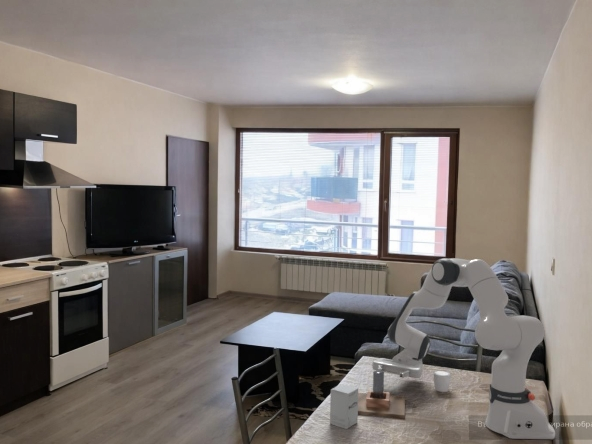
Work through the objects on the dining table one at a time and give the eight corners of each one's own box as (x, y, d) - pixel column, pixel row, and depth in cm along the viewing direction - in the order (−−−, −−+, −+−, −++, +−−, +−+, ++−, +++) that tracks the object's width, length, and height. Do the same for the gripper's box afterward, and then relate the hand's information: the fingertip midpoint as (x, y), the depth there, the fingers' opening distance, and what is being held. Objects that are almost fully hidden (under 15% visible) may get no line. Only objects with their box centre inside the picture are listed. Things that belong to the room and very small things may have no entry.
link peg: (383, 401, 206) (384, 371, 205) (383, 405, 202) (383, 374, 202) (373, 400, 207) (373, 370, 206) (372, 404, 203) (373, 373, 202)
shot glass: (451, 392, 220) (452, 375, 219) (435, 392, 220) (435, 375, 219) (447, 386, 226) (448, 370, 226) (431, 386, 227) (431, 370, 226)
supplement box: (347, 429, 184) (347, 393, 183) (329, 424, 188) (329, 388, 188) (358, 422, 190) (359, 387, 189) (340, 417, 194) (341, 383, 194)
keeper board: (404, 399, 211) (404, 389, 211) (404, 418, 194) (404, 407, 194) (353, 395, 215) (354, 385, 215) (349, 413, 198) (349, 402, 198)
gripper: (379, 352, 231) (366, 361, 220) (425, 360, 221) (414, 370, 209) (379, 367, 232) (366, 376, 220) (425, 375, 221) (414, 386, 209)
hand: (390, 373), depth 214 cm, fingers open, 8 cm apart
